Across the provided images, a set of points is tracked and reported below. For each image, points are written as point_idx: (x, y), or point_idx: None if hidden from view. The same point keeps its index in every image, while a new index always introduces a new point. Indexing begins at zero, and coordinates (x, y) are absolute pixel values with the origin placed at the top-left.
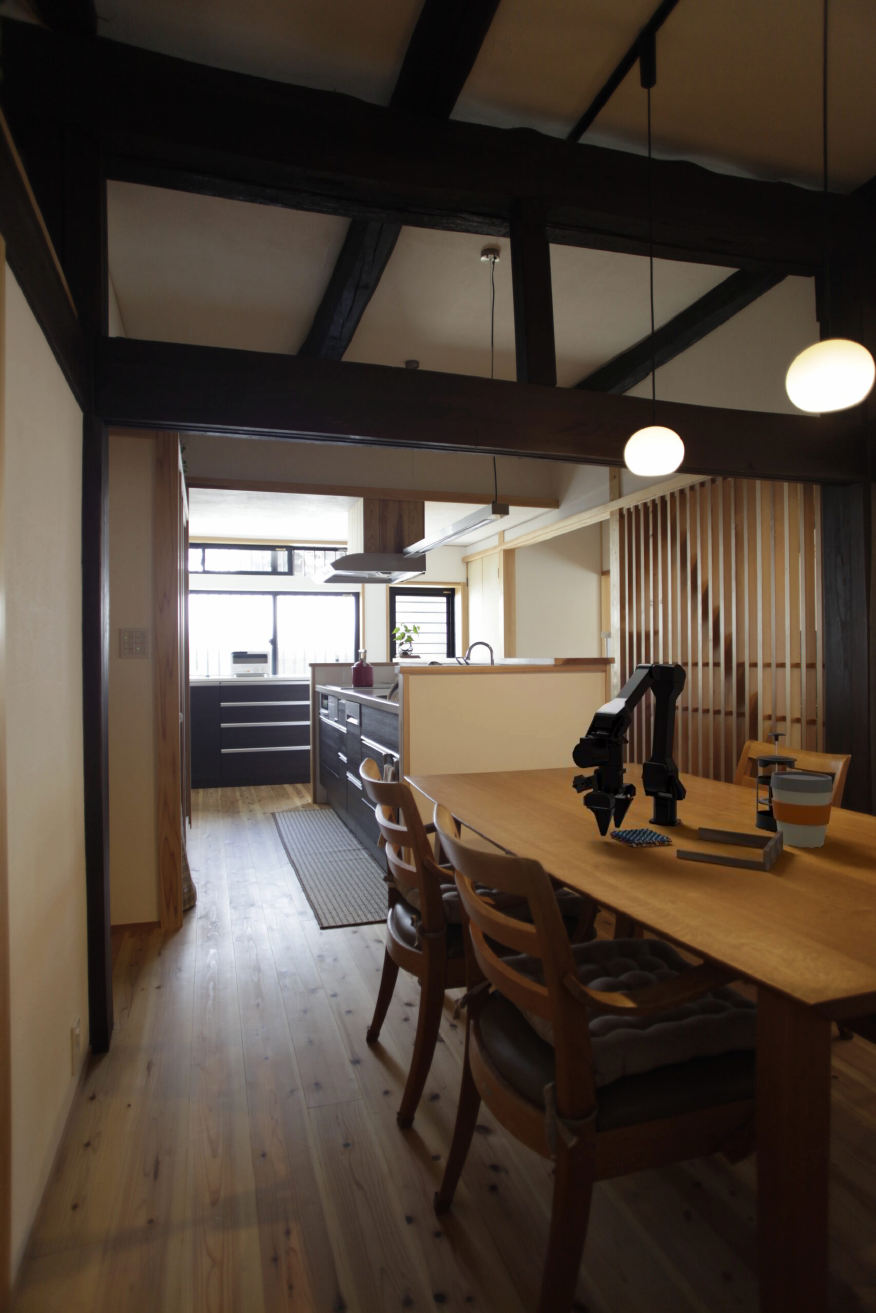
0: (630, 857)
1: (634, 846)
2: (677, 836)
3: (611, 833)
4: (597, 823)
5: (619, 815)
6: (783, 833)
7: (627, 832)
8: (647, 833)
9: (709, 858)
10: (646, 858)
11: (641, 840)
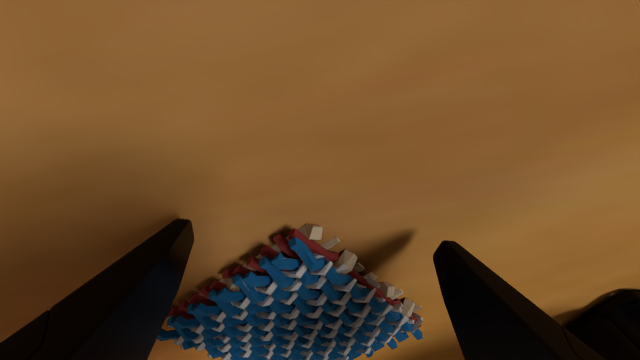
0: (15, 326)
1: (167, 319)
2: (403, 355)
3: (291, 246)
4: (73, 293)
5: (479, 340)
6: None
7: (316, 304)
8: (329, 346)
9: None
10: None
11: (207, 347)
